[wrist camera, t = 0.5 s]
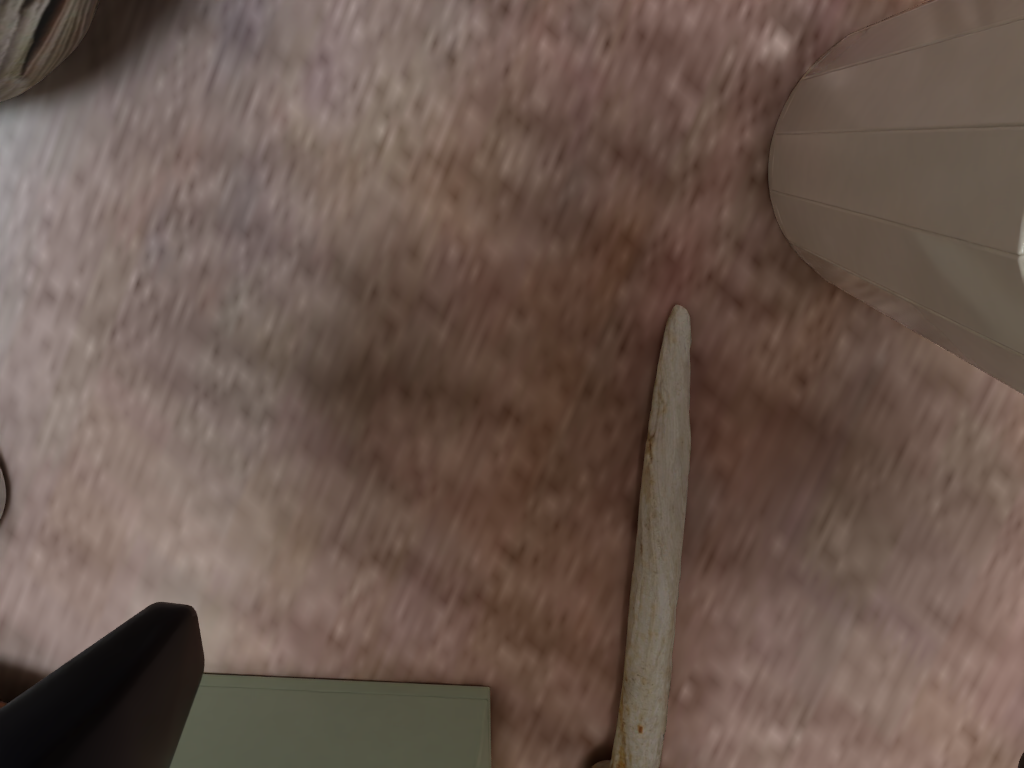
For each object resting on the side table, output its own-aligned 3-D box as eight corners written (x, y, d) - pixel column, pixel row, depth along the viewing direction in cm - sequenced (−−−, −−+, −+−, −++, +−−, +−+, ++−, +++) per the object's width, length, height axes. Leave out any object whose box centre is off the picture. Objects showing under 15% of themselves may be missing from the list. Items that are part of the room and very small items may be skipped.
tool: (603, 295, 22) (627, 311, 19) (700, 298, 23) (737, 314, 20) (568, 834, 26) (584, 914, 23) (651, 831, 26) (677, 910, 24)
